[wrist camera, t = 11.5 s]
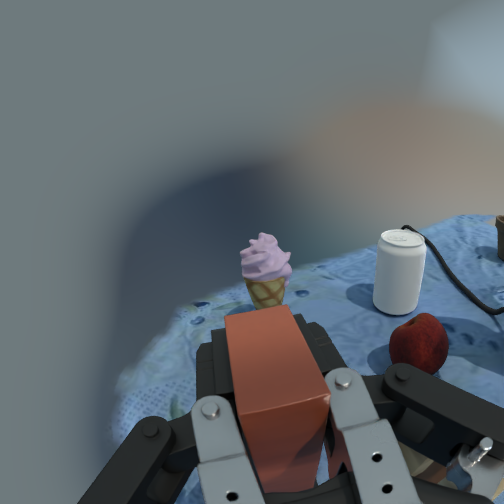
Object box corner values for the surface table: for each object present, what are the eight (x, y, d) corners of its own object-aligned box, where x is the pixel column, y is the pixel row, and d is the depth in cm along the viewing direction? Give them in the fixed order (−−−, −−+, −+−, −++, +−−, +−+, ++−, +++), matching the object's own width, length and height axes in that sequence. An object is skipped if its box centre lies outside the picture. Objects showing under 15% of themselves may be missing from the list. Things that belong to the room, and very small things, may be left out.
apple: (412, 342, 32) (424, 294, 29) (448, 372, 25) (469, 323, 22) (374, 364, 30) (384, 314, 27) (410, 401, 23) (431, 352, 20)
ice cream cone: (293, 316, 43) (287, 226, 37) (297, 341, 37) (293, 241, 31) (251, 320, 43) (239, 231, 38) (250, 345, 37) (235, 247, 32)
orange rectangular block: (252, 434, 13) (223, 315, 10) (292, 425, 13) (287, 303, 10) (266, 498, 9) (237, 415, 6) (313, 487, 9) (332, 393, 6)
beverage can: (418, 319, 36) (431, 248, 31) (370, 316, 39) (377, 245, 35) (414, 293, 42) (423, 230, 38) (373, 290, 46) (377, 227, 42)
